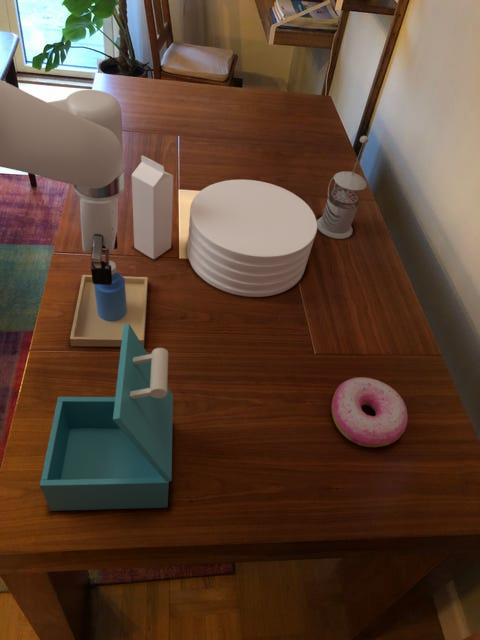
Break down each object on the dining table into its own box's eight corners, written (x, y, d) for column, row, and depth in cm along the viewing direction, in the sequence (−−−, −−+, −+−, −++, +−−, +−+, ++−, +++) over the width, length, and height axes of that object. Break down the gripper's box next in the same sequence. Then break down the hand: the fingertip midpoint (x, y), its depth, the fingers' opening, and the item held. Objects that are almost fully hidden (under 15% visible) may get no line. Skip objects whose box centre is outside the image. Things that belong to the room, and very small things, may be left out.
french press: (326, 240, 120) (356, 148, 102) (307, 213, 127) (332, 122, 109) (359, 236, 123) (395, 146, 105) (339, 210, 130) (369, 121, 112)
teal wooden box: (50, 510, 68) (39, 485, 62) (66, 426, 77) (58, 396, 71) (167, 507, 71) (168, 482, 64) (169, 426, 80) (170, 397, 73)
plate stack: (328, 276, 111) (342, 237, 103) (224, 312, 99) (231, 271, 91) (264, 210, 126) (272, 171, 117) (167, 233, 114) (168, 192, 105)
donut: (391, 389, 91) (401, 374, 87) (409, 454, 82) (421, 440, 78) (323, 385, 90) (330, 369, 86) (334, 450, 81) (342, 436, 77)
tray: (143, 347, 90) (143, 340, 89) (71, 346, 88) (69, 338, 86) (147, 284, 101) (147, 277, 100) (83, 282, 99) (82, 274, 98)
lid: (112, 419, 51) (158, 410, 50) (123, 324, 60) (162, 316, 60) (165, 482, 64) (203, 475, 63) (168, 396, 73) (200, 389, 72)
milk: (151, 236, 112) (151, 149, 96) (171, 248, 110) (174, 161, 94) (133, 248, 109) (130, 159, 93) (153, 260, 107) (153, 172, 91)
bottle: (104, 325, 92) (98, 279, 83) (93, 306, 95) (86, 260, 86) (131, 315, 94) (128, 270, 85) (119, 297, 97) (116, 252, 88)
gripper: (81, 149, 78) (90, 234, 90) (63, 209, 66) (76, 297, 78) (128, 153, 79) (130, 236, 91) (118, 213, 67) (123, 299, 80)
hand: (105, 264), depth 85 cm, fingers open, 9 cm apart
